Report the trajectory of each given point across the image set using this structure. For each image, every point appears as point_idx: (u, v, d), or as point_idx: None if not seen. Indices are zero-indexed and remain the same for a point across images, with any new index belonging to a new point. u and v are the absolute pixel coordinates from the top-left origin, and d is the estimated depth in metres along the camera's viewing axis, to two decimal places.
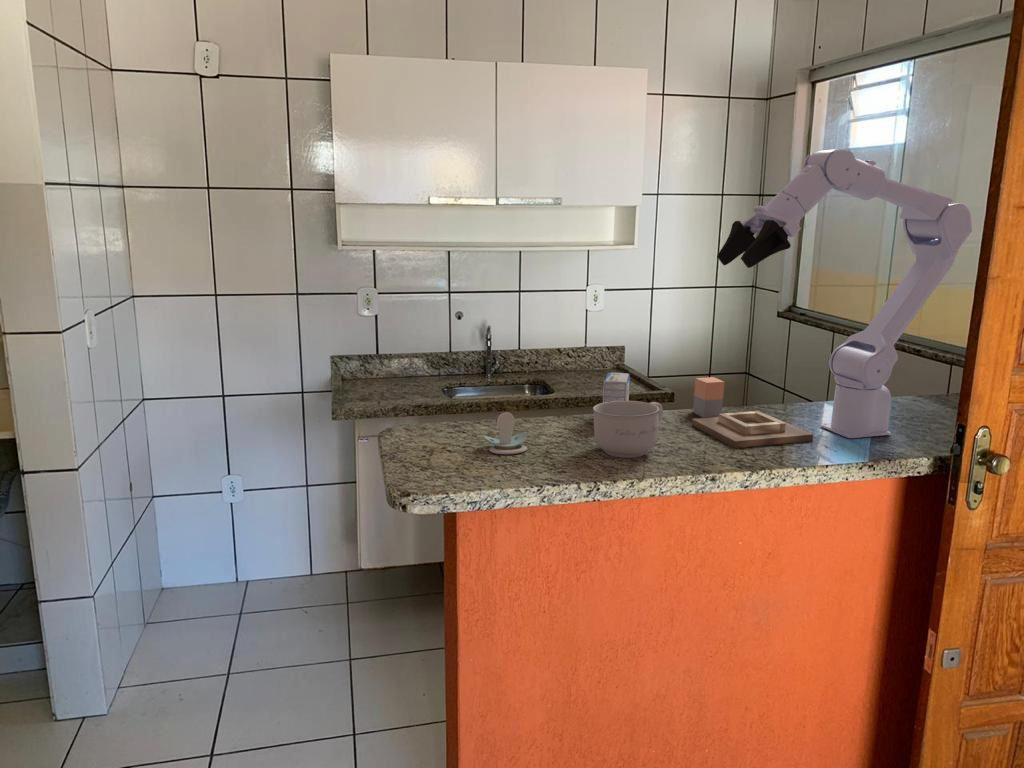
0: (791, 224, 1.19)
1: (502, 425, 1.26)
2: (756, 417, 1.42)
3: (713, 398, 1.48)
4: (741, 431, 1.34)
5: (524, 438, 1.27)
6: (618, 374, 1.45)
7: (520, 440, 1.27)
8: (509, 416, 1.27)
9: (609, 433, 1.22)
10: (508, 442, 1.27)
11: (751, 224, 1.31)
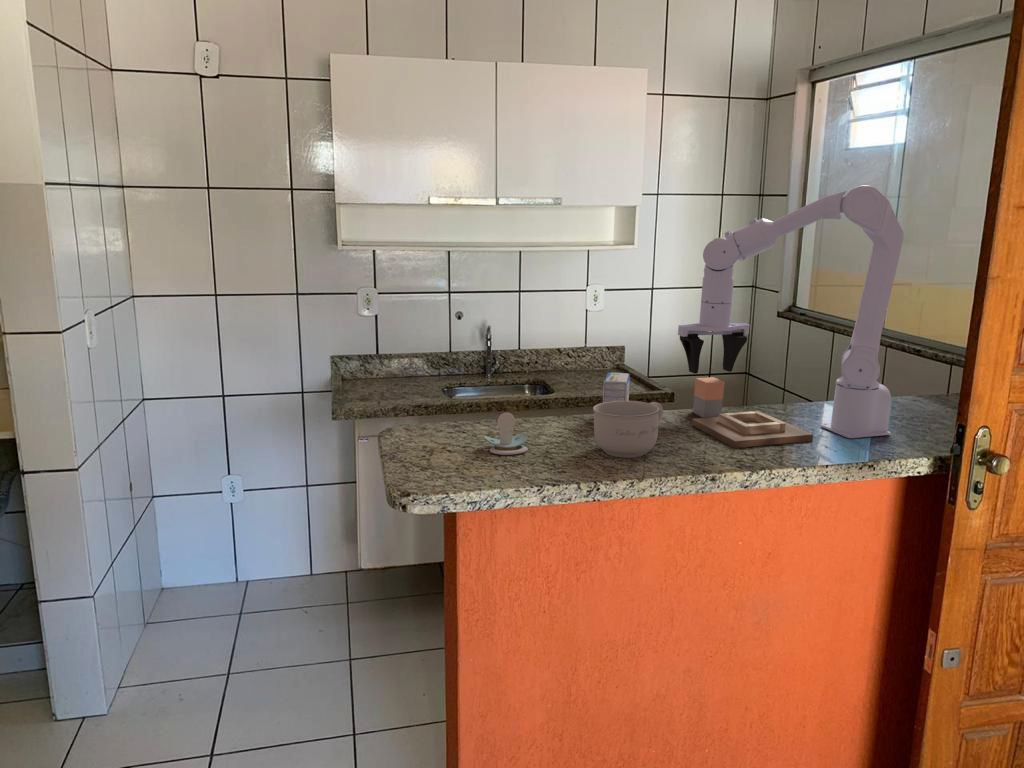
0: (678, 330, 1.45)
1: (502, 425, 1.26)
2: (756, 417, 1.42)
3: (713, 398, 1.48)
4: (741, 431, 1.34)
5: (524, 439, 1.27)
6: (618, 374, 1.45)
7: (520, 441, 1.27)
8: (510, 416, 1.27)
9: (609, 433, 1.22)
10: (508, 443, 1.27)
11: None
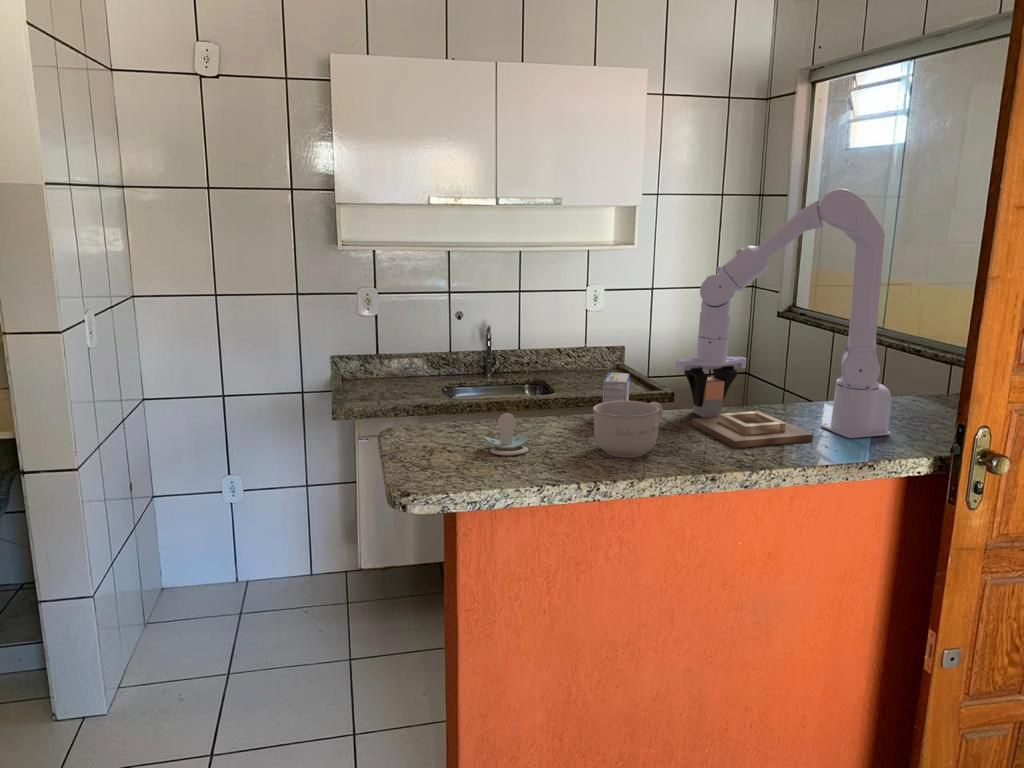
0: (676, 364, 1.47)
1: (503, 426, 1.26)
2: (756, 417, 1.42)
3: (713, 398, 1.48)
4: (741, 431, 1.34)
5: (525, 439, 1.27)
6: (618, 374, 1.45)
7: (521, 441, 1.27)
8: (510, 417, 1.26)
9: (609, 433, 1.22)
10: (509, 443, 1.27)
11: None
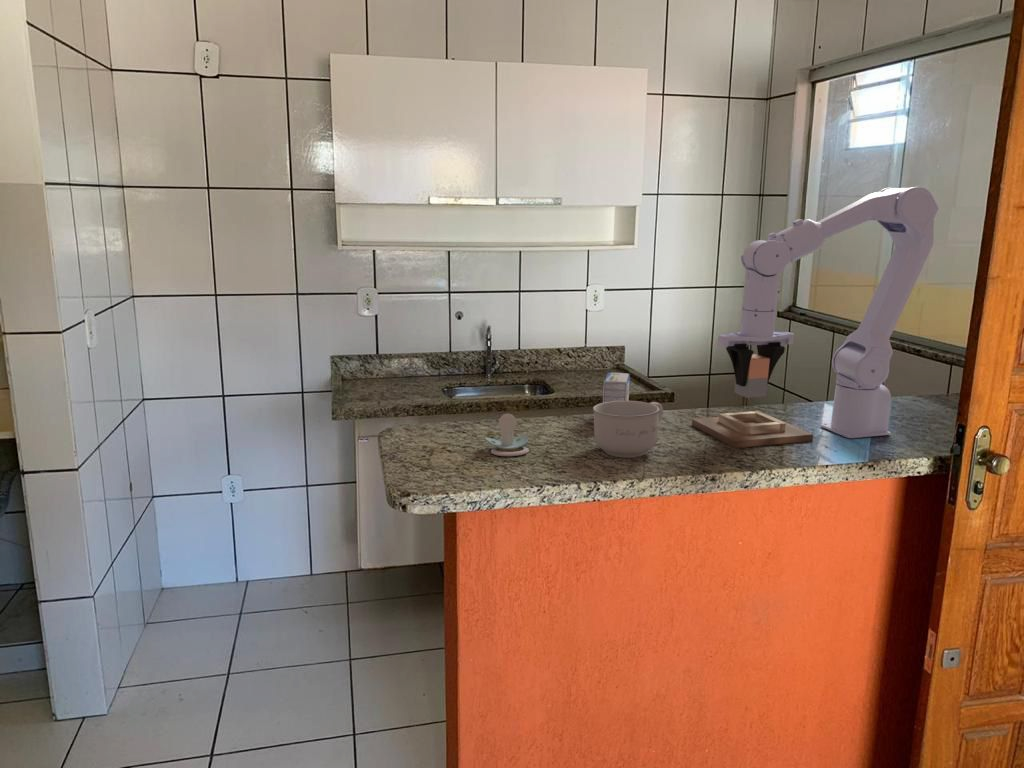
0: (718, 340, 1.34)
1: (504, 427, 1.25)
2: (756, 417, 1.42)
3: (757, 376, 1.36)
4: (741, 431, 1.34)
5: (526, 440, 1.26)
6: (618, 374, 1.45)
7: (522, 442, 1.27)
8: (511, 417, 1.26)
9: (609, 433, 1.22)
10: (510, 444, 1.26)
11: None
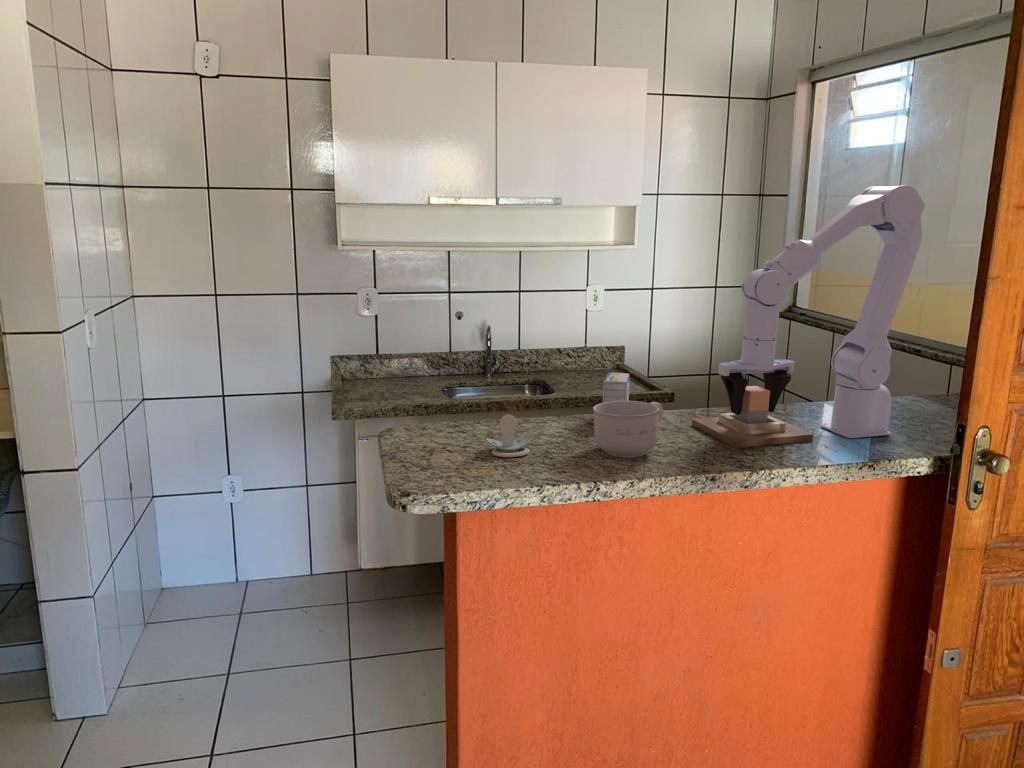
0: (719, 368, 1.35)
1: (504, 428, 1.25)
2: None
3: (758, 409, 1.36)
4: (741, 431, 1.34)
5: (527, 441, 1.26)
6: (618, 374, 1.45)
7: (523, 443, 1.26)
8: (512, 418, 1.25)
9: (609, 433, 1.22)
10: (510, 445, 1.26)
11: None
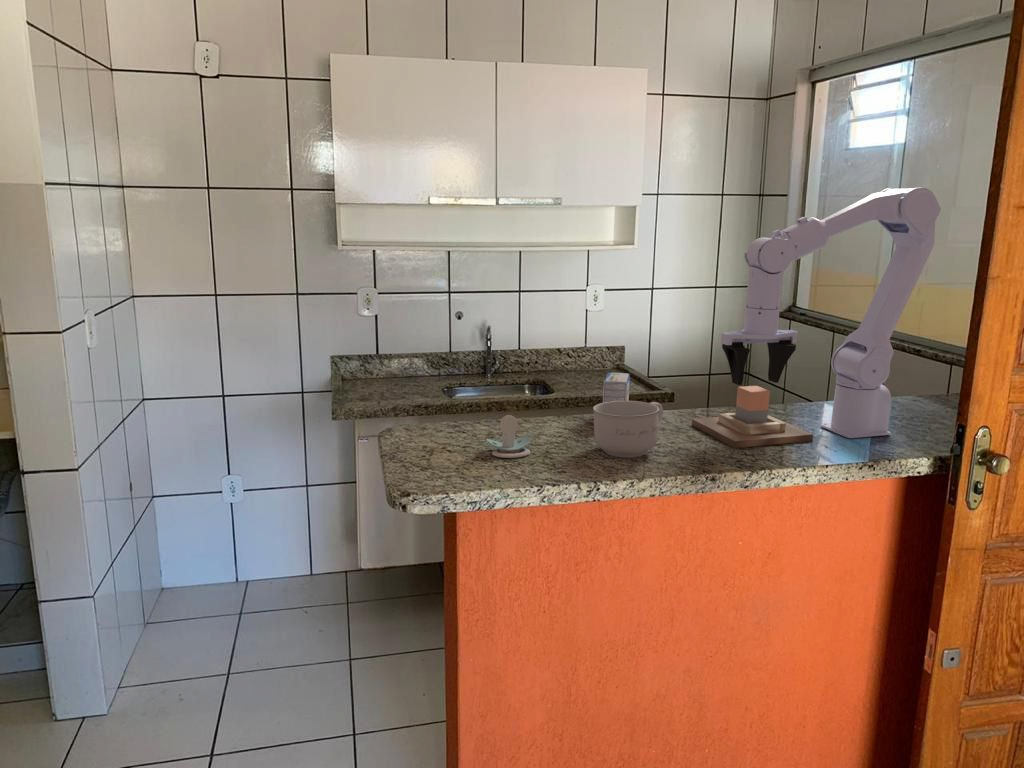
0: (721, 337, 1.33)
1: (505, 428, 1.25)
2: None
3: (758, 409, 1.36)
4: (741, 431, 1.34)
5: (527, 441, 1.26)
6: (618, 374, 1.45)
7: (523, 443, 1.26)
8: (512, 419, 1.25)
9: (609, 433, 1.22)
10: (511, 445, 1.26)
11: None
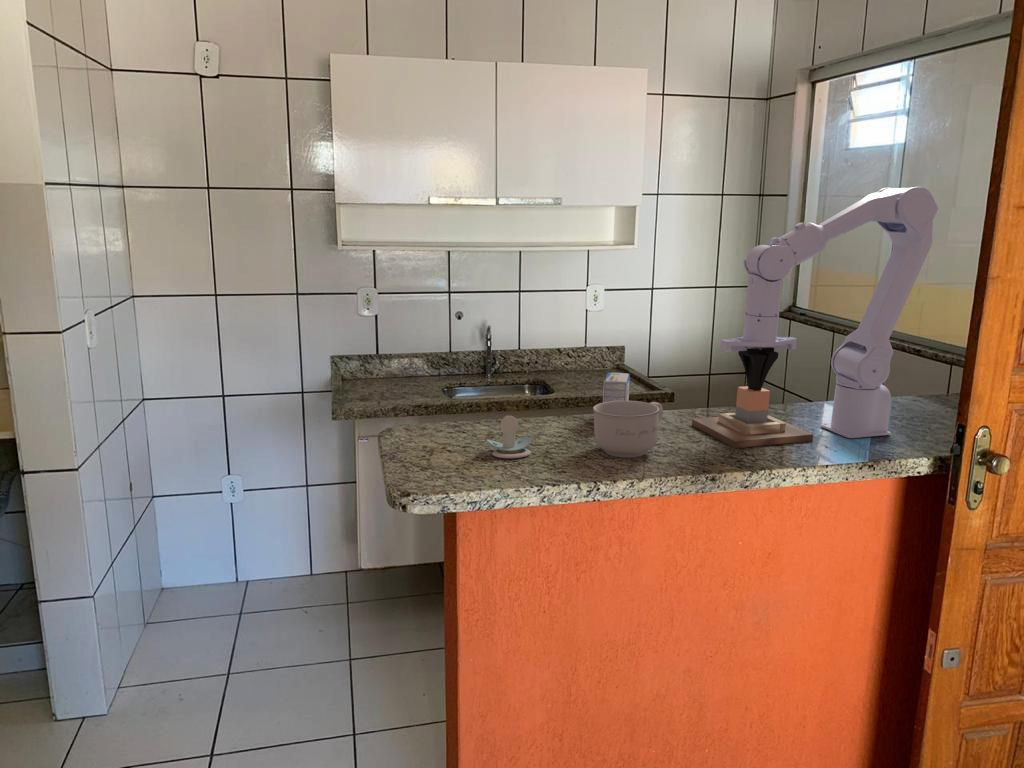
0: (721, 345, 1.34)
1: (505, 429, 1.24)
2: None
3: (758, 409, 1.36)
4: (741, 431, 1.34)
5: (528, 442, 1.25)
6: (618, 374, 1.45)
7: (524, 444, 1.25)
8: (513, 419, 1.25)
9: (609, 433, 1.22)
10: (511, 446, 1.25)
11: None
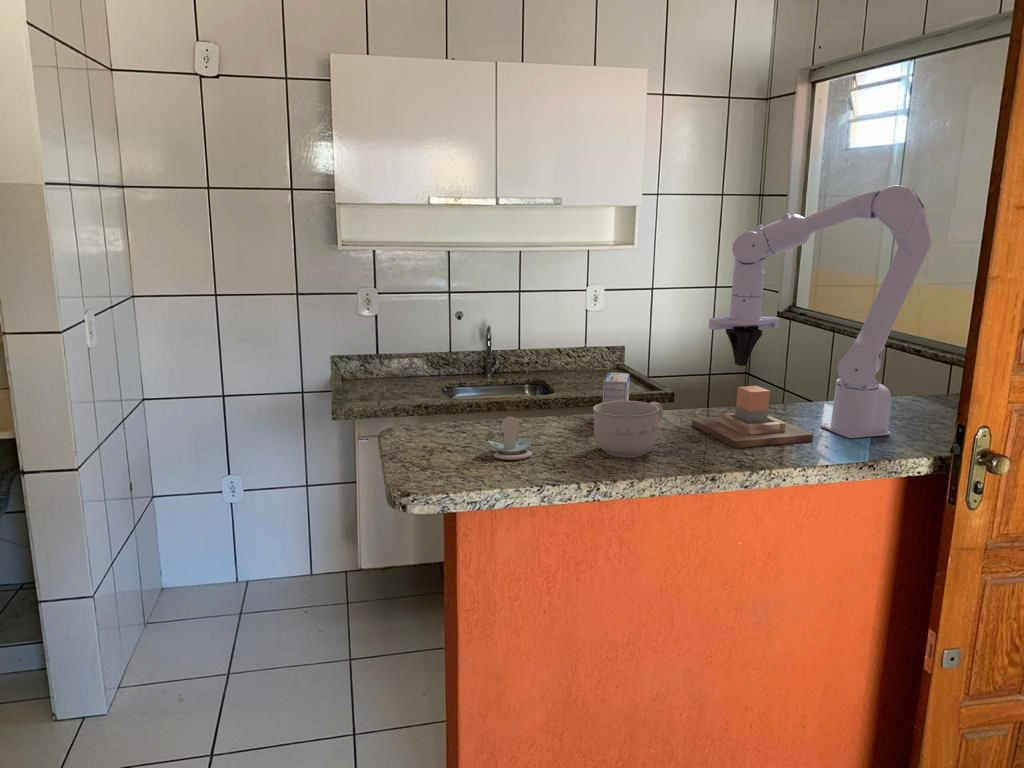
0: (709, 323, 1.46)
1: (506, 430, 1.24)
2: None
3: (758, 409, 1.36)
4: (741, 431, 1.34)
5: (529, 443, 1.25)
6: (618, 374, 1.45)
7: (525, 445, 1.25)
8: (514, 420, 1.24)
9: (609, 433, 1.22)
10: (512, 447, 1.25)
11: None
